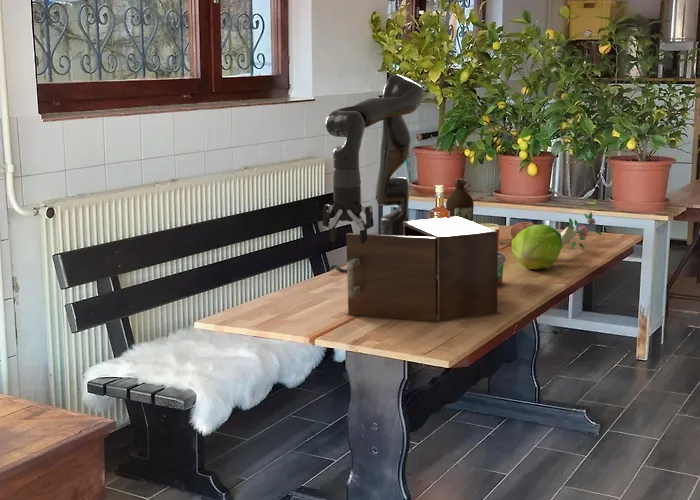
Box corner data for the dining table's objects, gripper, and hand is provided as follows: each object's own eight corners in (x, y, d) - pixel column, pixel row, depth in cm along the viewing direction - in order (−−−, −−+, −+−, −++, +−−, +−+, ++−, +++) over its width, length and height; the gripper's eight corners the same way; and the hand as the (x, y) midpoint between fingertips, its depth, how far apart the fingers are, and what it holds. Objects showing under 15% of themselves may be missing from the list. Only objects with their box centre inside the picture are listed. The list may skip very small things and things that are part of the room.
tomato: (541, 244, 357) (541, 223, 356) (512, 245, 358) (513, 224, 356) (536, 238, 368) (536, 218, 366) (508, 239, 368) (508, 219, 366)
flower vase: (541, 279, 334) (577, 240, 360) (572, 273, 326) (607, 234, 352) (530, 249, 332) (567, 213, 358) (560, 243, 324) (596, 206, 350)
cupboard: (439, 321, 261) (438, 236, 256) (404, 298, 285) (403, 221, 280) (497, 313, 266) (497, 231, 261) (458, 292, 291) (458, 216, 286)
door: (429, 327, 255) (428, 242, 250) (340, 320, 264) (338, 238, 259) (436, 320, 261) (436, 237, 256) (350, 313, 271) (347, 233, 266)
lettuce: (503, 278, 316) (496, 235, 313) (530, 261, 331) (524, 219, 328) (548, 279, 306) (542, 234, 302) (573, 261, 321) (568, 218, 317)
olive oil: (442, 241, 368) (442, 178, 363) (468, 239, 370) (467, 176, 365) (451, 246, 358) (451, 181, 353) (477, 244, 360) (477, 180, 355)
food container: (504, 289, 292) (505, 258, 290) (484, 289, 294) (485, 258, 292) (506, 280, 304) (506, 250, 302) (487, 279, 305) (487, 249, 303)
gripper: (317, 185, 255) (319, 243, 258) (366, 187, 250) (367, 246, 253) (328, 181, 261) (329, 238, 265) (375, 183, 256) (377, 241, 260)
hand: (348, 242), depth 259 cm, fingers open, 8 cm apart
